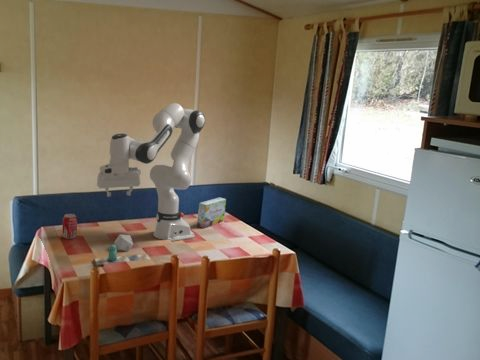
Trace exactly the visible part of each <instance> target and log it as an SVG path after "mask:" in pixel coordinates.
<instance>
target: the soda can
mask: <svg viewBox="0 0 480 360" xmlns="http://www.w3.org/2000/svg"><path fill="white" fill-rule="evenodd" d="M77 234H78V218H77V215H76V214H75V213H66V214H64V215H63V217H62V237H63V239H64V238H65V239H67V240H72V239H75V238H76V237H77Z"/></svg>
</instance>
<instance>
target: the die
mask: <svg viewBox="0 0 480 360" xmlns="http://www.w3.org/2000/svg"><path fill="white" fill-rule="evenodd" d="M113 245H115V246H116V249H117V251H120V252H121V251H122V252H129V251H130V250H131V249H132V247H133V246H134V242H133V239H132V236H131V235H130V234H120V233H119V234H118V236H117V238H116V239H115V240H114V242H113Z"/></svg>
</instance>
